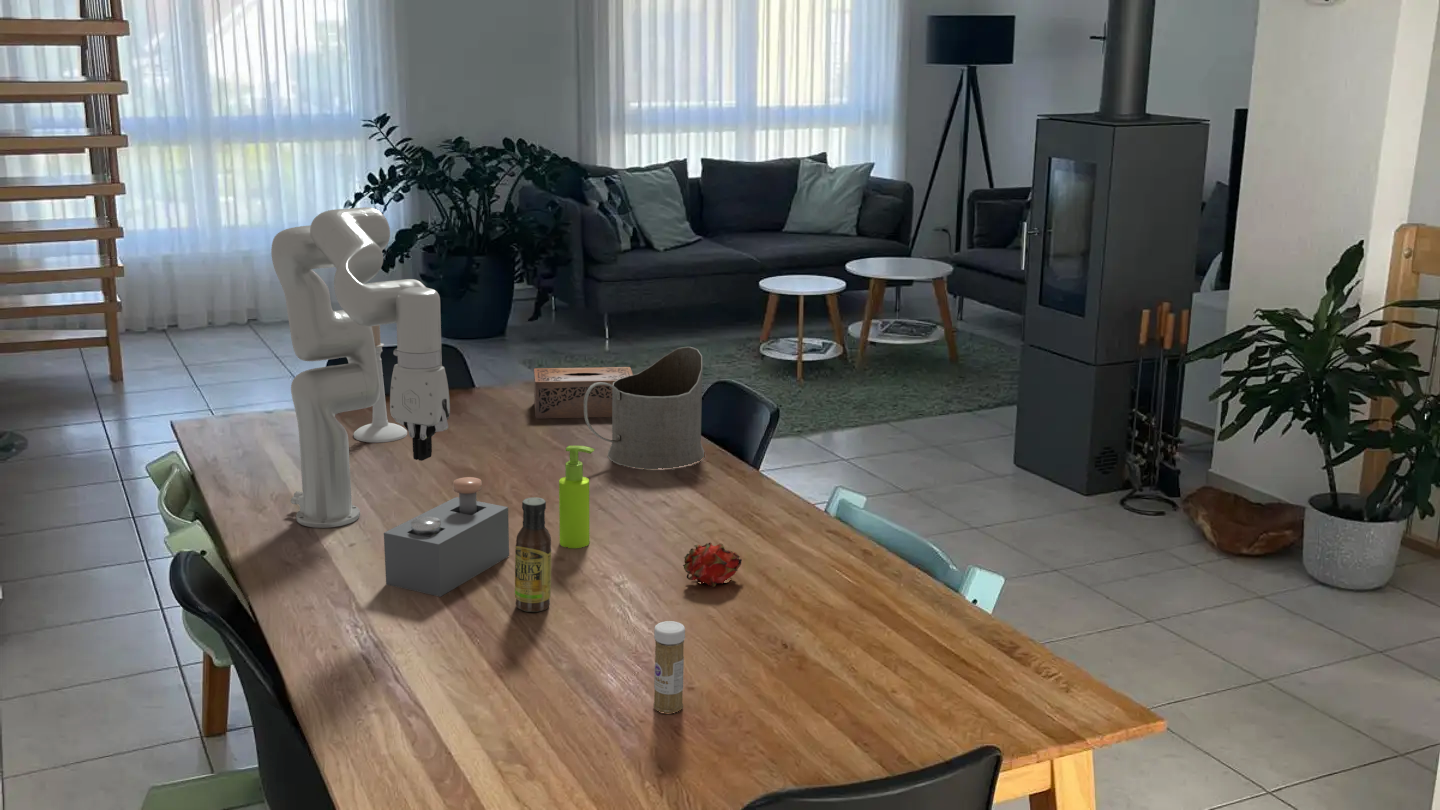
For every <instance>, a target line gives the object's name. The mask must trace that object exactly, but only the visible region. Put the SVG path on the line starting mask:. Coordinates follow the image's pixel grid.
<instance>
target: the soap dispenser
mask: <svg viewBox="0 0 1440 810" xmlns="http://www.w3.org/2000/svg"><path fill="white" fill-rule="evenodd" d="M594 451H595V448H593V447H590V446H585V445H567V447H566V448H565V452H569V460H568V461H566V462H565V466H564V467H565V470H564V471H565V476H564V477H561V478H560V479H559V480H558V495H559V497H558V501H559V503H558V505H559V506H558V507H559V508H558V510H559V511H558V513H559V545H560V546H561V547H563V548H566V547H568V548H567V549H582V547H583V548H585V546H586V547H587V546H589V545H590V478H588V477H586V476H584V470H583V469H584V466H583V465H584V463H583V462H582V461H581V460H579V453H586V454H592V453H593V452H594Z"/></svg>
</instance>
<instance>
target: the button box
mask: <svg viewBox="0 0 1440 810" xmlns="http://www.w3.org/2000/svg"><path fill="white" fill-rule="evenodd" d="M420 517H435V518H438V519H440V521H441V530H440V531H439V532H437V533H435V535H433V536H431V537H425V536H420V535H417V534H415V533H413V532H412V529H411V522H412V520H414V519H416V518H420ZM509 538H510V532H509V507H508V506H503V505H498V504H494V503H489V502H484V501H483V502H482V501H479V500H477V513H475V514H473V515H468V514H463V513H460V506H459V497H458V496H455V497H453V498H452V499H449V500H447V501H444V502H443V503H441V504H439V505H437V506H435V507H433V508H431V509H429V510H427V511H425V512H423V513H421V514H419V515H416V516H415V517H413V518H410V519H409V520H407V521H405V522H403V523H401V524H398V525H396V526H394V527H393V528H391V529H388V530H386V531H384V532H383V543H384V546H383V547H384V565H385V566H384V568H385V569H384V570H385V584H386V585H388V586H392V587H395V588H401V589H406V590H409V591H414V592H419V593H423V594H426V595H432V596H435V597H436V596H437V597H442V596H444V595H446V594H447V593H449V592H451V591H453V590H454V589H456V588H457V587H460V586H461V585H463V584H464V583H466V582H468V581H469V580H471V579H473V578H474V577H476V576H478V575H480V574H481V573H483V572H484V571H486V570H488V569H490V568H492V567H493V566H495V565H497V564H498V563H501V562H502V561H503V560H505V559H507V558H509V557H510V539H509ZM508 556H509V557H508Z"/></svg>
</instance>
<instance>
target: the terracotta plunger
mask: <svg viewBox="0 0 1440 810" xmlns="http://www.w3.org/2000/svg"><path fill="white" fill-rule="evenodd" d="M452 484H453V485H452V486H453V491H454V492H455V493H458V496H459V497H458V498H459V506H460V513H463V514H468V515H473V514H475V513H477V501H478V500H477V493H479V492H480V491H482V488H483V487H482V479H480V478H478V477H473V476H472V477H471V476H467V477H466V476H465V477H459V478H456V479H454V480H453V483H452Z"/></svg>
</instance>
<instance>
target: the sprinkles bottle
mask: <svg viewBox="0 0 1440 810" xmlns="http://www.w3.org/2000/svg"><path fill="white" fill-rule="evenodd" d="M653 637H654V641H655V649H654V650H655V653H654V654H655V656H654V678H653V679H654V680H653V681H654V683H653V684H654V695H653V696H654V699H653V700H654V702H653V709H654V708H655V709H656V710H657V711H660V712H664V713H673V712H677V711H679V710H681V709H682V710H683V708H684V704H683V696H684V695H683V692H684V691H683V690H684V667H685V666H684V663H685V661H684V660H685V659H684V658H685V657H684V650H685V649H684V643H685V639H686V628H685V626H684V624H683V623H680V622H679V621H673V620H666V621H661V622H659V623H657V624H655V626H654V635H653ZM655 709H654V710H655ZM656 710H655V711H656ZM682 710H681V711H682ZM657 711H656V712H657ZM679 712H680V711H679ZM677 713H678V712H677Z"/></svg>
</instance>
